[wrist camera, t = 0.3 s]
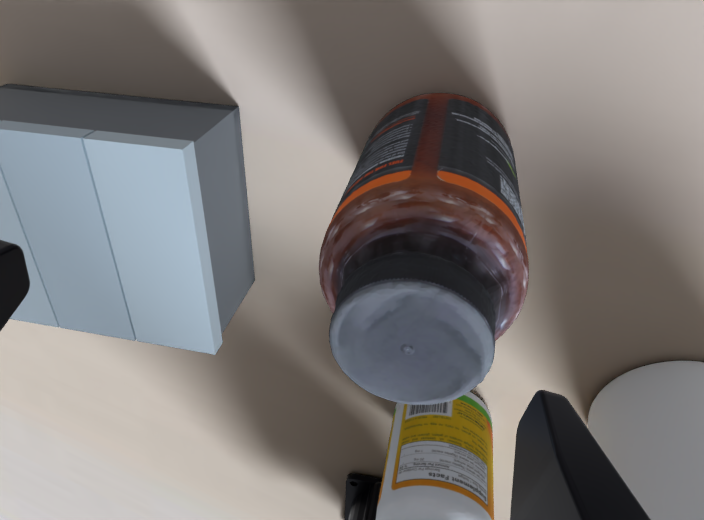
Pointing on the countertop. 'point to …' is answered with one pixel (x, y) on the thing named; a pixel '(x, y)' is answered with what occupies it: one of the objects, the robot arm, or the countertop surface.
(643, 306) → the countertop surface
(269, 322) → the countertop surface
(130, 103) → the tub
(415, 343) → the supplement bottle
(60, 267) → the lid
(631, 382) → the pill bottle
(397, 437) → the supplement bottle
